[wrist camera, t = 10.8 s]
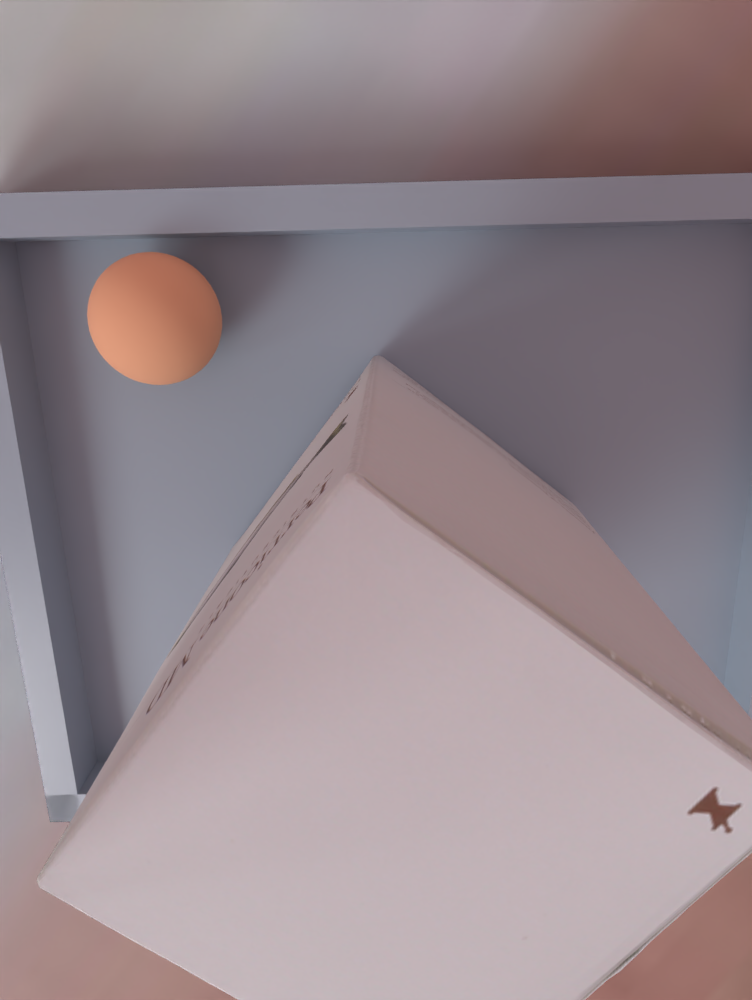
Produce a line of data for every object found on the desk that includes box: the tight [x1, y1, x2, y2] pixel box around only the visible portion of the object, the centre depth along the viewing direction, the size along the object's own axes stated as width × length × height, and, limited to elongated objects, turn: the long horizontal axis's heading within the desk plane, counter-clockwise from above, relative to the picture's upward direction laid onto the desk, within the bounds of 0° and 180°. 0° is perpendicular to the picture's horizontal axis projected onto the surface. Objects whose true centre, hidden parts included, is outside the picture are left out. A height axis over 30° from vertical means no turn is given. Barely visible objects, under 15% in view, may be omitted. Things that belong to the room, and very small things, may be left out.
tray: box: [0, 173, 752, 822], centre depth 21 cm, size 22×18×2 cm
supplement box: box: [37, 355, 752, 1000], centre depth 15 cm, size 7×7×13 cm
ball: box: [87, 252, 222, 385], centre depth 18 cm, size 3×3×3 cm
